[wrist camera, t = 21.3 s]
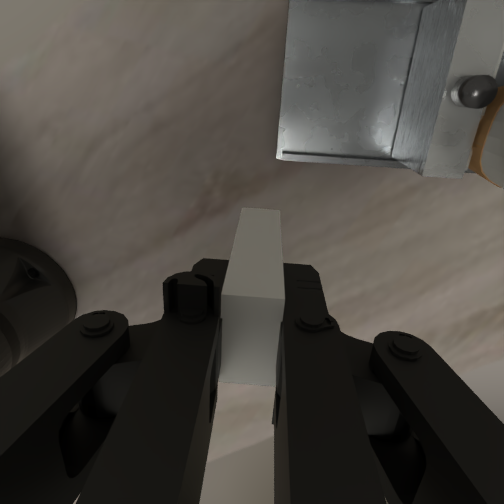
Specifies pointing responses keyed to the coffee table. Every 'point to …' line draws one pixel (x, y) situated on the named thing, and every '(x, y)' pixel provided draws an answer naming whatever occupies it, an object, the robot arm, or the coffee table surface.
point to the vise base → (347, 79)
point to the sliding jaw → (449, 85)
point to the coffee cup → (490, 143)
